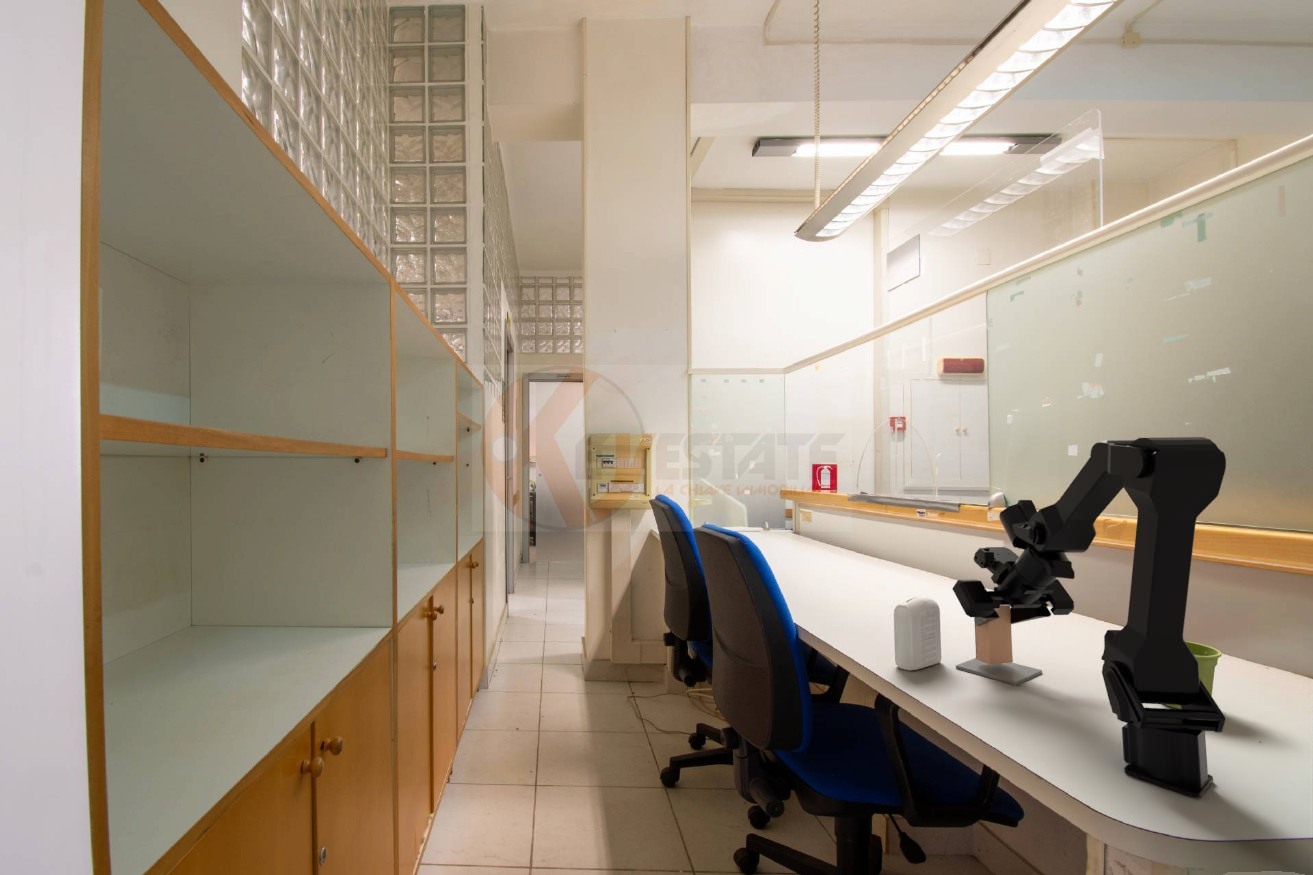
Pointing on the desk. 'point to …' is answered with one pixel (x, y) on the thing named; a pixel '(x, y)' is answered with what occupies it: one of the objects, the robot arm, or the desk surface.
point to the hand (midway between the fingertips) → (991, 622)
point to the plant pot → (1204, 664)
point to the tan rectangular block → (995, 639)
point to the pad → (1000, 671)
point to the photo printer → (917, 633)
